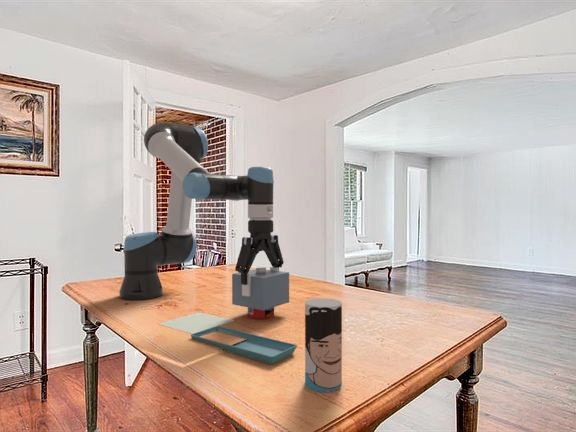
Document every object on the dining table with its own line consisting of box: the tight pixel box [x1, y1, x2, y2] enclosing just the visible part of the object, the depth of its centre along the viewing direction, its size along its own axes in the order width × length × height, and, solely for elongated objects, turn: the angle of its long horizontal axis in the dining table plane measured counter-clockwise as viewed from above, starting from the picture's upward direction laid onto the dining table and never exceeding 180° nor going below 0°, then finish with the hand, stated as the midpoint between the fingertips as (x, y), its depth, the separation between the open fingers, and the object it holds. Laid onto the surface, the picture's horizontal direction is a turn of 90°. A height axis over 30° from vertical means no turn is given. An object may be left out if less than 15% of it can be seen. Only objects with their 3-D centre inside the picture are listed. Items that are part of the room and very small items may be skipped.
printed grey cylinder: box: [304, 297, 343, 393], centre depth 72 cm, size 7×7×15 cm
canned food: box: [247, 307, 275, 320], centre depth 116 cm, size 8×8×11 cm
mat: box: [157, 311, 236, 335], centre depth 109 cm, size 15×15×1 cm
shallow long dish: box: [190, 325, 298, 365], centre depth 91 cm, size 26×9×2 cm, turn 53°
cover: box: [231, 266, 290, 311], centre depth 116 cm, size 12×12×10 cm
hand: (260, 292), depth 116 cm, fingers closed on cover, 12 cm apart
